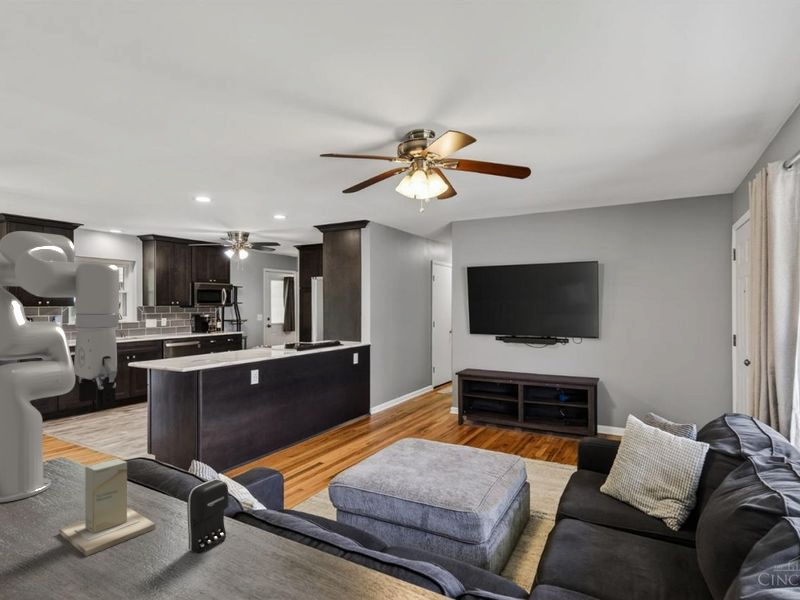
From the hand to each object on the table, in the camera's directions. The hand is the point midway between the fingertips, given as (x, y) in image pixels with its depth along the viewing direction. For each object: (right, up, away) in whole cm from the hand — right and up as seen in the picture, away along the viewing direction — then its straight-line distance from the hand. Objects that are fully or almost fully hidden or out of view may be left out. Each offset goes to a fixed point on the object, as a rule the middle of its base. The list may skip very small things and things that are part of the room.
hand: (96, 404), depth 93 cm
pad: (+5, -25, -4) cm, 25 cm away
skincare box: (+5, -24, -4) cm, 24 cm away
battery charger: (+28, -24, -10) cm, 38 cm away
